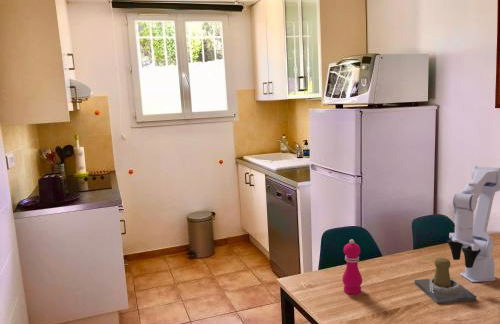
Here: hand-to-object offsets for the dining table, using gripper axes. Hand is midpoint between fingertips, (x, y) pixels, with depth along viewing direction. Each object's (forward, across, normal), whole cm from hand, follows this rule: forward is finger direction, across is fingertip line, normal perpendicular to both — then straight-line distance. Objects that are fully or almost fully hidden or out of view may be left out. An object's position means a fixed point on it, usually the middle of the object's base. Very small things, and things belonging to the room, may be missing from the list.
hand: (462, 263), depth 144 cm
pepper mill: (+11, -6, -38) cm, 41 cm away
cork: (+9, 0, -7) cm, 12 cm away
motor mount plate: (+10, 0, -6) cm, 12 cm away
